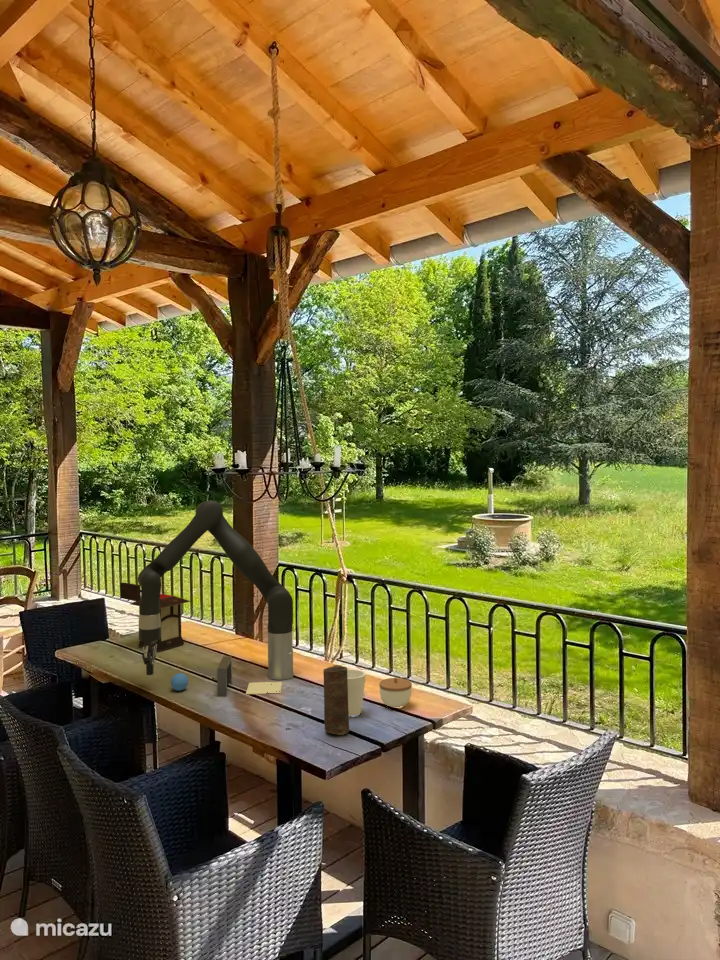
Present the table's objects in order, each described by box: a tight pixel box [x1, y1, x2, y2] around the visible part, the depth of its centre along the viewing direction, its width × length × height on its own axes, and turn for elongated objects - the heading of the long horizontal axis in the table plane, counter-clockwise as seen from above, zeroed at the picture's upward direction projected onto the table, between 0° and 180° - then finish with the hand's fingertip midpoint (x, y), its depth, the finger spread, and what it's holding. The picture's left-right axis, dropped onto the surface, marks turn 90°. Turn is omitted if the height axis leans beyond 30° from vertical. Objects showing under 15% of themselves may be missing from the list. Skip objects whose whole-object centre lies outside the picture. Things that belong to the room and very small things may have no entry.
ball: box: [170, 672, 189, 692], centre depth 252 cm, size 6×6×6 cm
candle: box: [323, 664, 350, 736], centre depth 212 cm, size 8×7×20 cm
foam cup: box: [347, 668, 366, 715], centre depth 228 cm, size 10×9×13 cm
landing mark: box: [245, 681, 283, 695], centre depth 253 cm, size 12×12×1 cm
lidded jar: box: [378, 677, 413, 707], centre depth 234 cm, size 11×11×9 cm
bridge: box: [216, 655, 233, 697], centre depth 252 cm, size 3×15×10 cm, turn 3°
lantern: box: [119, 582, 191, 653], centre depth 306 cm, size 18×26×30 cm
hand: (150, 674), depth 251 cm, fingers closed
